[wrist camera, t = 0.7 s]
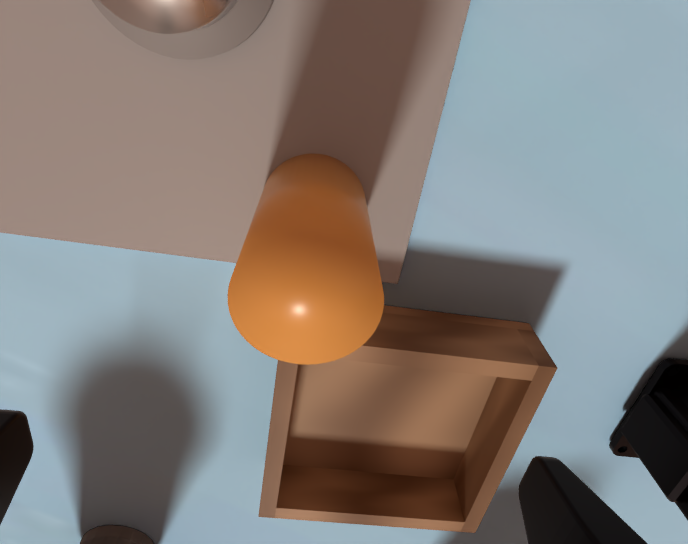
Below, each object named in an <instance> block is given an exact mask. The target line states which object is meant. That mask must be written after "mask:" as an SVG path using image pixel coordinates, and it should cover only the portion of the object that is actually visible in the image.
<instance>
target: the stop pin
mask: <svg viewBox="0 0 688 544" xmlns="http://www.w3.org/2000/svg"><path fill="white" fill-rule="evenodd" d="M228 306H229V312H230V315H231V318H232V320H233V322H234V324H235V326H236V328H237V329H238V331H239V332H240V334H241V335H242V336H243V337H244V338H245V339H246V341H247V342H249V343H250V344H251V345H252V346H253V347H254V348H256V349H257V350H259V351H260V352H262V353H264V354H266V355H268V356H270V357H272V358H275V359H277V360H280V361H284V362H288V363H294V364H305V365H309V364H321V363H327V362H331V361H335V360H337V359H340V358H343V357H345V356H347V355H349V354H351V353H352V352H354V351H355V350H357V349H358V348H360V347H361V346H362V345H363V344H364V343H366V341H367V340H368V339H369V338H370V337H371V336H372V334H373V333H374V332H375V330H376V328H377V326H378V324H379V322H380V320H381V317H382V314H383V308H384V293H383V286H382V281H381V276H380V271H379V266H378V261H377V255H376V250H375V245H374V240H373V235H372V229H371V224H370V219H369V214H368V209H367V203H366V198H365V193H364V190H363V187H362V184H361V182H360V180H359V179H358V177H357V175H356V174H355V173H354V172H353V171H352V170H351V169H350V168H349V167H348V166H347V165H346V164H344V163H343V162H341V161H339V160H338V159H336V158H333V157H330V156H327V155H323V154H303V155H298V156H295V157H292V158H290V159H288V160H286V161H285V162H283V163H282V164H280V165H279V166H278V167H277V168H276V169H275V170H274V171H273V172H272V173H271V175H270V176H269V178H268V180H267V182H266V184H265V186H264V189H263V192H262V194H261V197H260V200H259V203H258V205H257V208H256V211H255V214H254V217H253V219H252V222H251V225H250V228H249V230H248V233H247V236H246V239H245V241H244V244H243V247H242V250H241V252H240V255H239V258H238V261H237V263H236V266H235V269H234V272H233V274H232V277H231V280H230V284H229V289H228Z"/></svg>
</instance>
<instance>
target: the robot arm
mask: <svg viewBox="0 0 688 544" xmlns="http://www.w3.org/2000/svg"><path fill="white" fill-rule="evenodd" d="M609 446H610V449H611V450H612V452H613V453H614V454H615V455H617V456H626V457H636V458H640V460H641V461H642V463H643V464H644V465H645V467H646V468H647V470H648V471H649V473H650V474H651V476H652V477H653V478H654V480H655V481H656V483H657V484H658V486H659V487H660V489H661V490H662V491H663V493H664V494H665V496H666V497H667V499H668V500H669V501H671V502H675V503H676V504H677V506H678V507H679V509H680V510H681V511H682V513H683V514H684V516H685V517H686V519H687V520H688V360H682V359H674V358H673V359H667V360H665V361H663V362H661V364H660V365H659V366H658V368H657V369H656V371H655V372H654V374H653V376H652V377H651V379H650V380H649V382H648V383H647V385H646V387H645V388H644V390H643V391H642V393H641V395H640V396H639V398H638V399H637V401H636V402H635V404H634V406H633V407H632V409H631V410H630V412H629V414H628V415H627V417H626V418H625V420H624V421H623V423H622V425H621V426H620V428H619V429H618V431H617V433H616V434H615V436H614V437H613V439H612V440H611V442H610V444H609ZM32 453H33V440H32V436H31V432H30V428H29V424H28V420H27V417H26V415H25V414H24V413H23V412H21V411H14V410H0V524H1V522H2V520H3V518H4V516H5V514H6V511H7V509H8V507H9V505H10V503H11V501H12V498H13V496H14V494H15V492H16V490H17V488H18V485H19V483H20V481H21V479H22V477H23V475H24V472H25V470H26V468H27V466H28V464H29V462H30V459H31V457H32ZM519 499H520V504H521V509H522V514H523V519H524V524H525V529H526V534H527V539H528V544H647V543H646V542H645V541H644V540H643V539H642V538H641V537H640V536H639V535H638V534H637V533H636V532H635V531H634V530H633V529H632V528H631V527H630V526H628V525H627V524H626V523H625V522H624V521H623V520H622V519H621V518H620V517H619V516H618V515H617V514H616V513H615V512H614V511H613V510H612V509H611V508H610V507H609V506H607V505H606V504H605V503H604V502H603V501H602V500H601V499H600V498H599V497H598V496H597V495H596V494H595V493H594V492H593V491H592V490H591V489H590V488H589V487H588V486H587V485H585V484H584V483H583V482H582V481H581V480H580V479H579V478H578V477H577V476H576V475H575V474H574V473H573V472H572V471H571V470H570V469H569V468H568V467H567V466H566V465H564V464H563V463H562V462H561V461H560V460H558V459H557V458H553V457H542V456H536V457H535V458H533V459H532V461H531V462H530V464H529V466H528V468H527V470H526V472H525V474H524V476H523V478H522V480H521V482H520V485H519Z"/></svg>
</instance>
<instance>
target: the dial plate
mask: <svg viewBox="0 0 688 544" xmlns="http://www.w3.org/2000/svg"><path fill="white" fill-rule="evenodd" d="M470 1H471V0H238V1H237V2H236V4H235V5H234V7H233V8H232V9H231V10H230V11H229V12H228V13H227V14H226V16H224V17H223V18H222V19H220V20H219V21H218V22H216V23H214V24H213V25H211V26H209V27H206V28H203V29H200V30H195V31H190V32H184V33H178V34H162V33H154V32H150V31H146V30H143V29H140V28H138V27H135V26H133V25H131V24H129V23H127V22H126V21H124V20H122V19H121V18H119V17H118V16H116V15H115V14H114V13H112V12H111V11H110V10H109V9H108V8H107V7H105V6H104V5H103V4H102V3H101V2H100V1H99V0H0V232H1V233H9V234H17V235H25V236H32V237H40V238H48V239H55V240H63V241H71V242H78V243H86V244H94V245H102V246H109V247H117V248H125V249H132V250H140V251H148V252H156V253H163V254H171V255H179V256H186V257H194V258H202V259H209V260H217V261H225V262H233V263H237V261H238V258H239V255H240V252H241V250H242V247H243V244H244V241H245V239H246V236H247V233H248V230H249V228H250V225H251V222H252V219H253V217H254V214H255V211H256V208H257V205H258V203H259V200H260V197H261V194H262V192H263V189H264V186H265V184H266V182H267V180H268V178H269V176H270V175H271V173H272V172H273V171H274V170H275V169H276V168H277V167H278V166H279V165H280V164H282V163H283V162H285V161H286V160H288V159H290V158H292V157H295V156H298V155H303V154H323V155H327V156H330V157H333V158H336V159H338V160H339V161H341V162H343V163H344V164H346V165H347V166H348V167H349V168H350V169H351V170H352V171H353V172H354V173H355V174H356V175H357V177H358V179H359V180H360V182H361V184H362V187H363V190H364V193H365V198H366V203H367V209H368V214H369V219H370V224H371V229H372V235H373V240H374V245H375V250H376V255H377V261H378V266H379V271H380V276H381V281H382V282H387V283H394V284H398V281H399V277H400V273H401V269H402V266H403V262H404V258H405V254H406V250H407V246H408V242H409V238H410V234H411V231H412V227H413V223H414V219H415V215H416V211H417V207H418V203H419V199H420V196H421V192H422V188H423V184H424V180H425V176H426V172H427V168H428V164H429V160H430V157H431V153H432V149H433V145H434V141H435V137H436V133H437V129H438V125H439V122H440V118H441V114H442V110H443V106H444V102H445V98H446V94H447V90H448V87H449V83H450V79H451V75H452V71H453V67H454V63H455V59H456V55H457V52H458V48H459V44H460V40H461V36H462V32H463V28H464V24H465V20H466V16H467V13H468V9H469V5H470Z"/></svg>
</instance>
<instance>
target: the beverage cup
mask: <svg viewBox="0 0 688 544" xmlns="http://www.w3.org/2000/svg"><path fill="white" fill-rule="evenodd" d="M80 544H154V543H153V541H152V540H151V539H150V538H149V537H148V536H146V535H145V534H144V533H142V532H140V531H138V530H135V529H133V528H129V527H125V526H116V525H107V526H99V527H97V528H94V529H91V530H89V531H88V532H87V533H86V534H84V536H83V538H82V540H81V542H80Z"/></svg>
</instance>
